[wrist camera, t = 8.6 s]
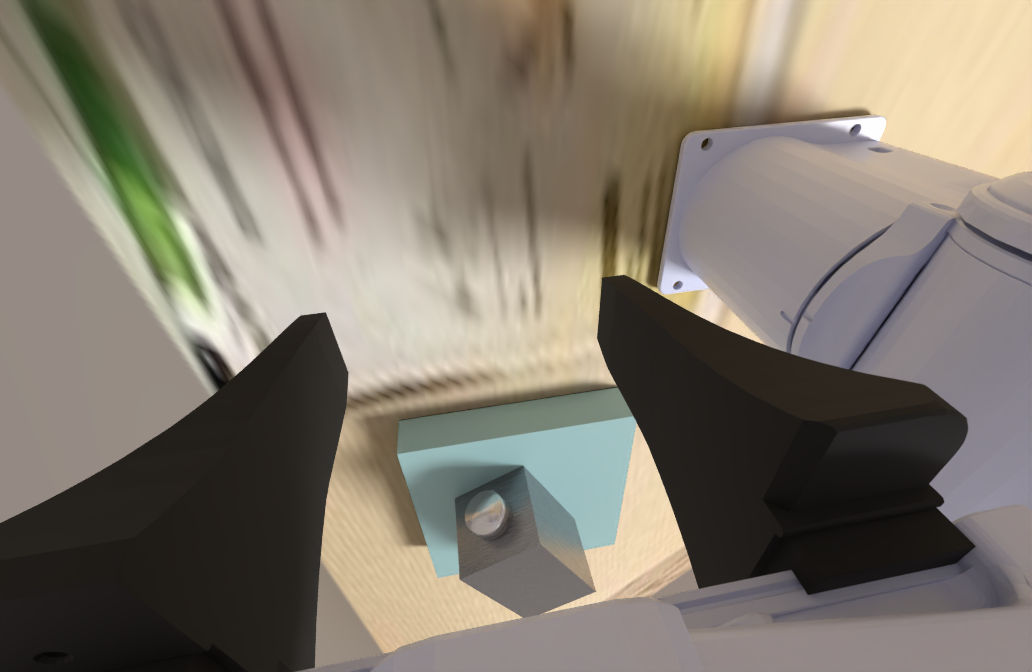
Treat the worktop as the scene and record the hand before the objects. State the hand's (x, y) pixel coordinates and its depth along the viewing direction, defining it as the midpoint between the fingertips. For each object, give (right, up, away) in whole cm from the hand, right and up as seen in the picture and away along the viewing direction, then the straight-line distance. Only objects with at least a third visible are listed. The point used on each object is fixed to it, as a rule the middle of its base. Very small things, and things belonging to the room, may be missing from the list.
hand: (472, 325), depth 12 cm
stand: (+1, -10, +20) cm, 23 cm away
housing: (+1, -12, +18) cm, 22 cm away
